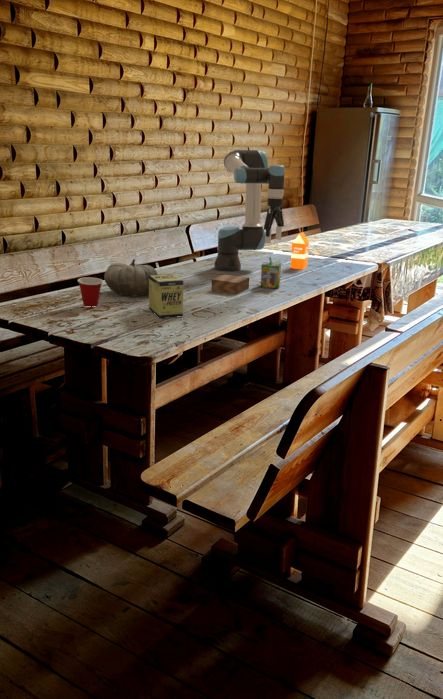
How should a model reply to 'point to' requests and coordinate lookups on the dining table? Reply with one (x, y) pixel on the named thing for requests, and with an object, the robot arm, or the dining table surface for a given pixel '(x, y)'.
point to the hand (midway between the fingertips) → (273, 241)
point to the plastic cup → (90, 290)
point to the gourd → (129, 278)
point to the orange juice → (299, 252)
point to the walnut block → (230, 284)
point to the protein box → (166, 295)
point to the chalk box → (270, 274)
